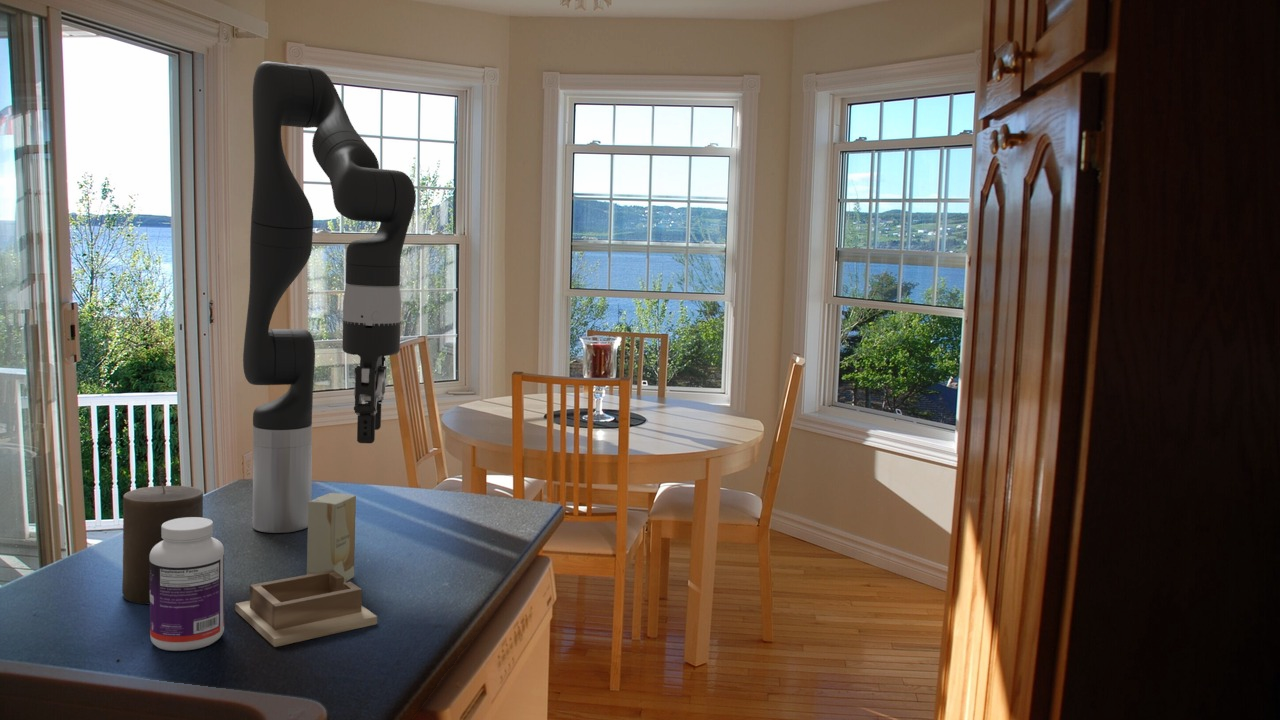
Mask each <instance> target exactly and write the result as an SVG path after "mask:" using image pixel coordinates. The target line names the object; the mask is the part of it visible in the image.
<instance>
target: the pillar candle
mask: <svg viewBox="0 0 1280 720" xmlns="http://www.w3.org/2000/svg"><path fill="white" fill-rule="evenodd" d="M122 504H123V509H122V510H123V511H122V512H123V514H122V515H123V517H122V520H123V521H122V523H123V525H122V527H123V528H122V541H123V542H122V590H121V592H122V595H123V598H124V599H125V600H126V601H127V602H128V601H129V602H131V603H135V604H142V605H143V604H144V605H150V558H149V557H150V552H151V550H152V548H153V547H154V546H155V545H156V544H158V543H159V542H161V541H163V540H164V539H162V535H161V526H162V524H163V523H164V522H167V521H169V520H173V519H177V518H186V517H201V518H204V517H203V515H204V493H203V490H202V489H200V488H199V487H195V486H184V485H164V483H161V485H156V486H147V487H139V488H136V489H133V490H129V491H127V492H126V493H124V494H123V503H122Z"/></svg>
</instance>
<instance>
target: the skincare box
mask: <svg viewBox="0 0 1280 720" xmlns="http://www.w3.org/2000/svg"><path fill="white" fill-rule="evenodd" d="M356 503H357V495H356V494H347V493H340V492H329V493H326V494H324V495H321V496H318V497H316V498H314V499H311V501H309V502H308V527H307V545H306V546H307V547H306V550H307V551H306V554H307V555H306V575H308V574H313V573H319V572H324V571H330V570H334V571H336V572H337V573H338V574H340V575H341V576H343V577H344V583H345V582H349V581H350V580H351V579H354V577H355V554H356V553H355V551H356V513H357V512H356V508H357V505H356Z"/></svg>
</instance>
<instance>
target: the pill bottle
mask: <svg viewBox="0 0 1280 720" xmlns="http://www.w3.org/2000/svg"><path fill="white" fill-rule="evenodd" d="M213 532H214V522H213V520H212V519H210V518H208V517H207V518H206V517H203V518H201V517H186V518H177V519H173V520H169V521H167V522H164V523H163V524H162V526H161V535H162V539H164V540H163V541H161V542H159V543H158V544H156V545H155V546H154V547H153V548H152V550H151V552H150V557H149V558H150V604H149V636H150V641H151V643H152V644H153V645H154V646H155V647H157V648H158V649H160V650H164V651H172V652H173V651H174V652H178V651H179V652H181V651H191V650H192V651H193V650H197V649H202V648H205V647H207V646H210V645H212V644H214V643H216V642H217V641H218V640H219V639H221V636H222V635H223V633H224V631H225V548H224V547H225V546H224V545H223V543H222V542H221V541H220V540H218V539H217V538H216V537H213V534H214V533H213Z"/></svg>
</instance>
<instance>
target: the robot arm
mask: <svg viewBox="0 0 1280 720" xmlns="http://www.w3.org/2000/svg"><path fill="white" fill-rule="evenodd" d="M252 124H253V126H252V127H253V148H254V149H253V151H254V152H253V156H254V158H253V160H254V162H253V163H254V164H253V166H254V167H253V170H254V171H253V184H252V185H253V187H252V188H253V189H252V204H251V205H252V206H251V215H250V216H251V217H250V219H251V220H250V239H249V240H250V241H249V243H250V245H249V252H250V254H249V255H250V256H249V294H248V303H247V315H246V321H245V322H246V324H245V331H244V332H245V333H244V343H243V353H242V357H243V359H242V366H243V373H244V377H245V380H246V381H247V382H248V383H249V384H250V385H254V386H282V385H283V386H284V385H285V386H286V385H287V386H288V385H290V386H289V389H288V390H287V391H286V392H285V393H284V394H282V395H281V396H280V397H278V398H276V399H273V400H272V401H270V402H267V403H264V404H262V405H259V406H257V407H256V408H255V409H254V410H253V413H252V528H253V530H255V531H258V532H262V533H269V534H282V533H283V534H284V533H293V532H297V531H302V530H305V529H308V502H309V501H311V500H312V462H313V461H312V460H313V459H312V455H313V454H312V453H313V451H312V450H313V449H312V448H313V447H312V445H313V443H312V437H313V434H312V433H313V431H312V430H313V425H312V424H313V404H314V403H313V400H314V399H313V397H314V396H313V395H314V380H315V378H314V377H315V366H316V346H315V339H314V337H313V334H311V332H310V331H309V330H307V329H302V328H301V329H300V328H271V329H270V325H271V322H272V317H273V315H274V312H275V309H276V307H277V305H278V304H279V301H280V300H281V298H282V297H283V295H284V294H285V292H286V291H287V290H288V288H289V287H290V286H291V285H292V284H293V282H295V280H296V279H297V277H298V276H299V275H300V274H301V272H302V270H303V269H304V268H305V267H306V264H307V263H308V261H309V259H310V256H312V255H311V254H312V250H313V234H314V213H313V208H312V206H311V204H310V202H309V201H310V200H308V198H307V196H306V194H305V192H304V191H303V189H302V187H301V185H300V184H299V182H298V181H297V179H296V177H295V175H294V174H293V171H292V170H291V169H290V166H289V165H290V164H289V162H288V161H287V159H286V156H285V153H284V147H283V142H282V127H283V126H284V127H292V128H293V127H295V128H303V129H310V128H316V129H315V131H314V134H313V137H312V141H311V142H312V143H311V144H312V145H311V146H312V153H313V156H314V158H315V160H316V162H317V164H318V165H319V167H320V168H321V170H322V171H323V172H324V173H325V175H326V176H327V178H328V179H329V182H330V186H331V190H332V198H333V199H332V200H333V204H334V207H335V209H336V211H337V212H338V213H339V214H340V215H342V217H345V218H346V219H348V220H350V221H355V222H371V223H372V222H374V223H380V225H379V227H378V229H377V231H376V232H375V234H374V235H373V236H371V237H369V238H368V237H367V238H361V239H358V240H354V241H351V242H350V243H349V244H348V245H347V247H346V253H345V254H346V255H345V285H344V286H345V288H344V295H343V302H342V304H343V305H342V306H343V307H342V347H341V348H342V351H343V352H344V353H346V354H348V355H353V356H355V355H356V356H358V357H359V360H360V361H359V364H357V365H356V367H354V371H353V377H354V390H353V391H354V392H353V395H354V396H353V397H354V406H353V410H354V414H355V415H356V416H357V425H356V426H357V429H356V431H357V435H356V441H357V443H359V444H373V443H374V442H375V439H376V431H378V430H380V429H381V426H382V403H383V401H384V397H385V396H384V395H385V393H386V387H387V382H386V379H387V375H388V374H387V373H388V367H387V365H386V364H385V362H386V357H388V356H389V357H390V356H394V355H397V354H399V353H400V350H401V349H400V348H401V320H402V319H401V317H402V316H401V313H402V298H401V291H400V290H401V289H400V284H401V283H400V282H401V256H402V251H403V247H404V244H405V240H406V236H407V233H408V229H409V227H410V223H411V220H412V219H413V218H412V217H413V214H414V210H415V207H416V201H417V200H416V199H417V197H416V190H415V189H416V188H415V185H414V182H413V181H412V179H411V178H410V176H409V175H408V174H407V173H405V172H404V171H400V170H397V169H395V170H394V169H383V168H380V164H379V160H378V157H377V156H376V155H375V152H373V150H372V149H371V148H370V146H369V145H368V144H367V142H366V141H365V140H364V139H363V138H362V136H360V134H359V133H358V132H357V130H356V129H355V127H354V126H353V124H352V122H351V119H350V118H349V115H348V113H347V111H346V109H345V105H344V104H343V102H342V99H341V98H340V95H339V93H338V91H337V89H336V87H335V85H334V83H333V82H332V80H331V78H330V76H328V74H327V73H326V72H325V71H323V70H321V69H320V68H318V67H314V66H307V65H302V64H301V65H300V64H294V63H286V62H284V63H283V62H277V61H263V62H261V63H259V65H258V66H257V68H256V70H255V74H254V77H253V84H252ZM362 402H364V403H362Z"/></svg>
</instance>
